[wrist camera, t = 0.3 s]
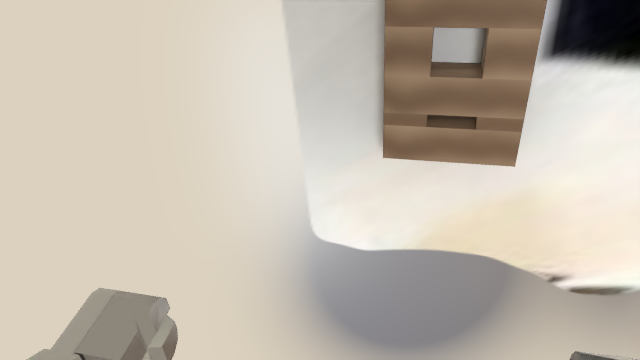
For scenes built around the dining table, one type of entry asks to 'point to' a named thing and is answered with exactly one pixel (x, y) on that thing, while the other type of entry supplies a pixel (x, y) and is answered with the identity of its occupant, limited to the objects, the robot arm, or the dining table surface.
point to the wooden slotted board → (458, 81)
